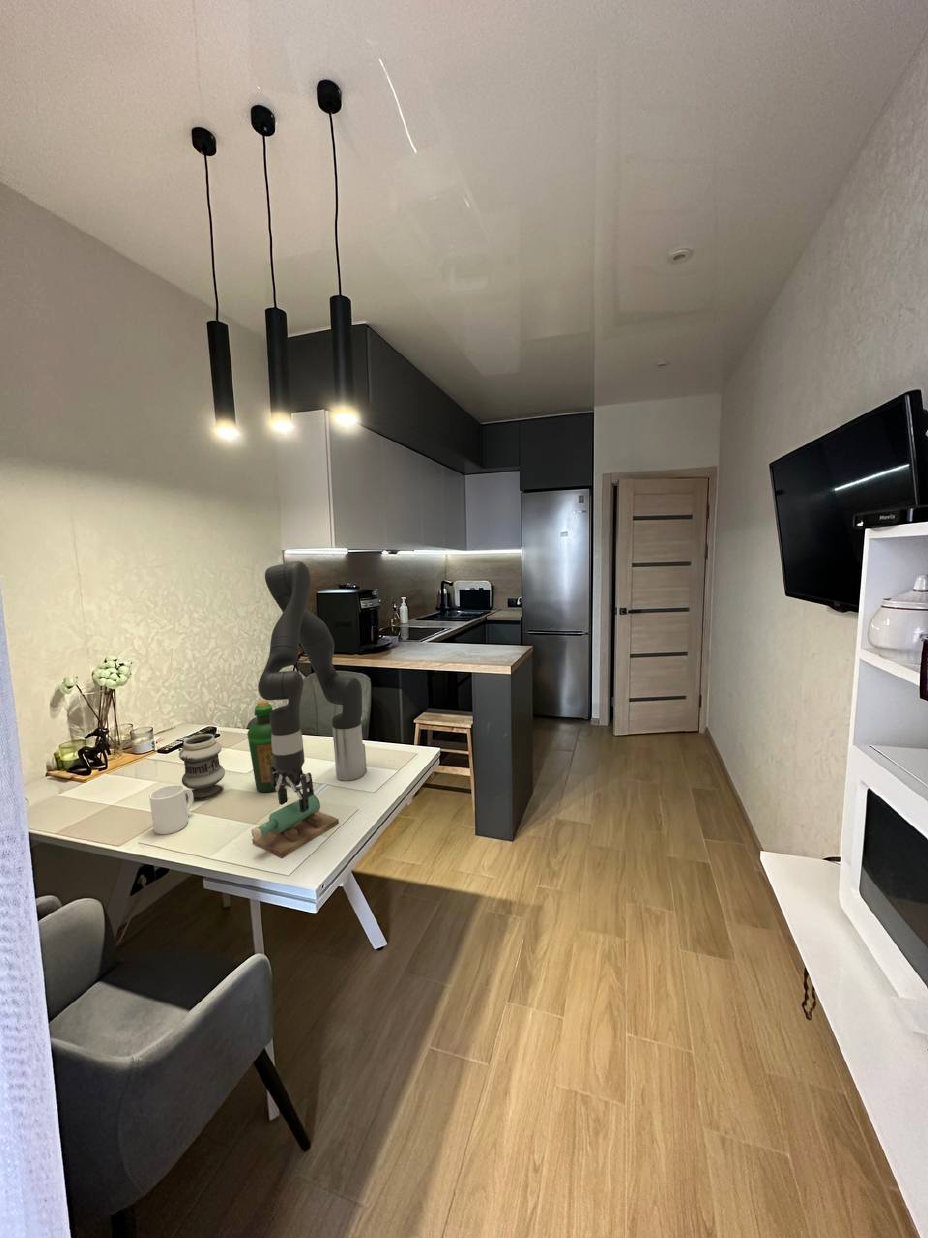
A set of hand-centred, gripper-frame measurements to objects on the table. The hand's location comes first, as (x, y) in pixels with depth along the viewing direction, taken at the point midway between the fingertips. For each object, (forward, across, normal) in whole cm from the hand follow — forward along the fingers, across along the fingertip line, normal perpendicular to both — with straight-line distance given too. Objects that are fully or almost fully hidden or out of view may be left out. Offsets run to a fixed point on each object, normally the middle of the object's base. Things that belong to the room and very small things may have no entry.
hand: (293, 807), depth 129 cm
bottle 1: (+8, +30, -14) cm, 34 cm away
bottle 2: (+4, 0, +2) cm, 5 cm away
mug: (+8, +34, +13) cm, 38 cm away
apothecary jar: (+8, +45, -1) cm, 46 cm away
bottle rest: (+8, 0, 0) cm, 8 cm away
